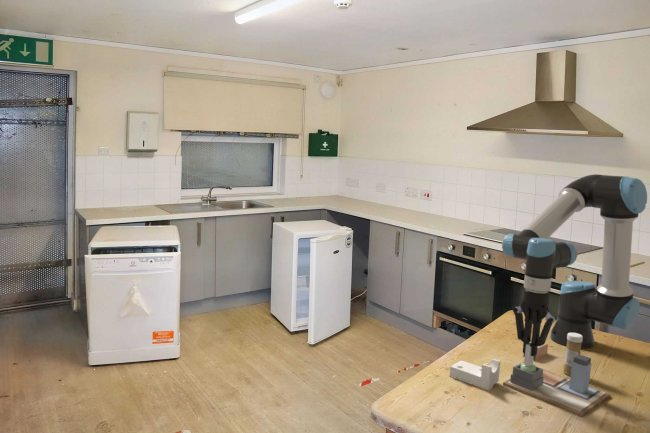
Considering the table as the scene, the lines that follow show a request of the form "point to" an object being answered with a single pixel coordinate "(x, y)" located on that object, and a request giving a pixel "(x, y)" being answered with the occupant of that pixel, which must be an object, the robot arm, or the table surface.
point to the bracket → (477, 373)
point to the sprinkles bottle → (572, 350)
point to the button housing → (527, 378)
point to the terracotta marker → (540, 351)
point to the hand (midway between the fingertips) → (528, 364)
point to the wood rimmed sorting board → (563, 394)
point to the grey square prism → (580, 373)
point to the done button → (528, 368)
